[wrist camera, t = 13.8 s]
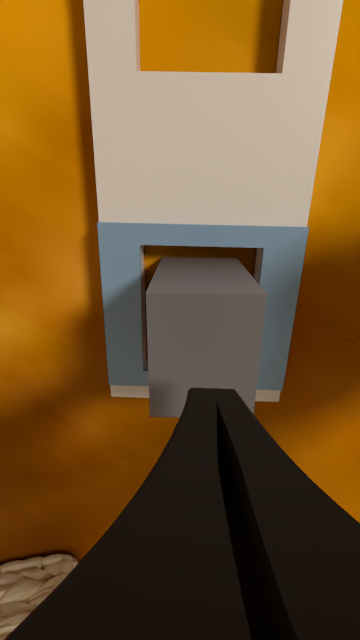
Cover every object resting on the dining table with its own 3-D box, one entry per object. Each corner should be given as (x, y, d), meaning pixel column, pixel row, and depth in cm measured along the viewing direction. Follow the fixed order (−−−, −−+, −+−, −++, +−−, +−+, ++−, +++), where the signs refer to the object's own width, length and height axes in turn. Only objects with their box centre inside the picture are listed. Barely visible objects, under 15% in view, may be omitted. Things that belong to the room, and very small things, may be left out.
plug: (236, 257, 17) (267, 294, 10) (230, 341, 19) (253, 418, 12) (162, 256, 17) (145, 292, 10) (163, 340, 19) (149, 416, 12)
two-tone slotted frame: (367, -234, 11) (395, -300, 9) (273, 390, 20) (280, 404, 18) (75, -235, 11) (59, -299, 9) (115, 385, 20) (109, 399, 18)
